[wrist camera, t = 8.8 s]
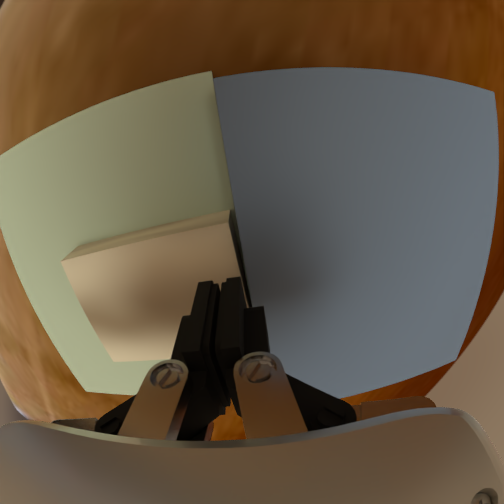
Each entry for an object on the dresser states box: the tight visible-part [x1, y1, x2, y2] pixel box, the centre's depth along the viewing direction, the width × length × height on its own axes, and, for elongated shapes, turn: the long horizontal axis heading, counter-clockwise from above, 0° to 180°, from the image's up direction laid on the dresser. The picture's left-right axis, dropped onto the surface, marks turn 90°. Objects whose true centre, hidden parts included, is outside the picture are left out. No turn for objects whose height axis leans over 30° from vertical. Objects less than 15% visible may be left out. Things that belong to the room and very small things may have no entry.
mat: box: [0, 71, 252, 395], centre depth 15 cm, size 20×16×1 cm
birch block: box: [61, 210, 252, 362], centre depth 14 cm, size 7×9×2 cm
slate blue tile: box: [213, 67, 499, 399], centre depth 13 cm, size 18×14×3 cm
